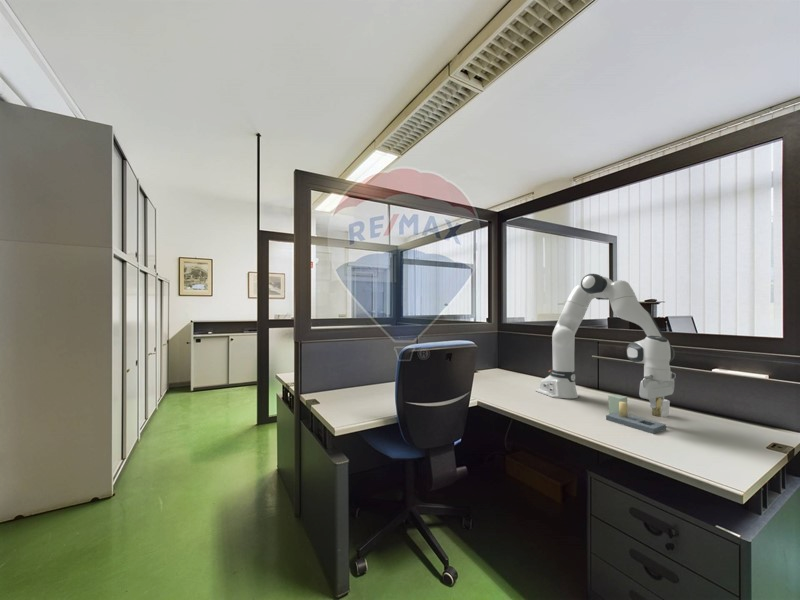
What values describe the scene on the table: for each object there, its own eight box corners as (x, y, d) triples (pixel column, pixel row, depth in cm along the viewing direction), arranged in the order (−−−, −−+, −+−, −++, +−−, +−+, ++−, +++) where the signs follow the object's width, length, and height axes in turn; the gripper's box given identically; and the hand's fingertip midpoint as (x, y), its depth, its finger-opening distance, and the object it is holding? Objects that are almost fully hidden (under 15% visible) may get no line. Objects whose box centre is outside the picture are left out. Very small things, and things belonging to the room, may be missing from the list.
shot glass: (673, 417, 145) (673, 402, 145) (656, 416, 147) (656, 401, 147) (664, 412, 152) (664, 397, 152) (648, 411, 153) (647, 397, 153)
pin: (650, 414, 138) (650, 396, 138) (654, 414, 139) (654, 395, 139) (658, 417, 135) (658, 398, 135) (662, 416, 136) (662, 397, 137)
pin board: (606, 419, 143) (605, 401, 143) (618, 416, 148) (618, 398, 148) (653, 433, 127) (653, 413, 127) (665, 429, 132) (665, 409, 132)
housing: (608, 412, 152) (608, 395, 152) (615, 410, 155) (615, 394, 155) (620, 416, 147) (620, 398, 148) (627, 414, 150) (627, 397, 150)
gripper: (652, 378, 130) (651, 412, 130) (677, 374, 139) (677, 406, 139) (634, 375, 135) (634, 407, 135) (660, 371, 145) (660, 401, 145)
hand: (656, 407), depth 137 cm, fingers closed on pin, 3 cm apart
